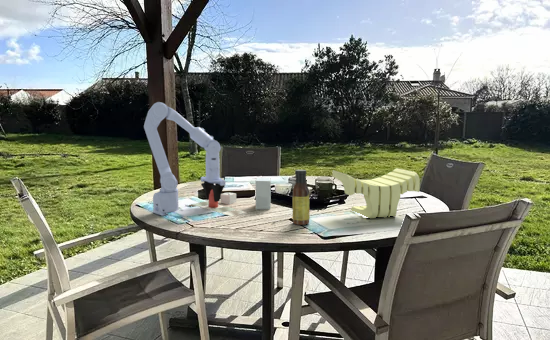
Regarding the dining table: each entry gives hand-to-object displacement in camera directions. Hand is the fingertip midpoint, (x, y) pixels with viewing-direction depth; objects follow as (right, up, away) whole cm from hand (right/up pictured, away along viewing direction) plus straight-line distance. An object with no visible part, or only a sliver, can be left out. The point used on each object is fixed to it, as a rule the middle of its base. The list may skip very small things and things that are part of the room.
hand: (213, 200), depth 156 cm
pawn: (0, -3, 0) cm, 3 cm away
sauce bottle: (+36, -7, -20) cm, 41 cm away
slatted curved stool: (+66, -6, -6) cm, 67 cm away
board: (+3, -4, -2) cm, 5 cm away
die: (+5, -3, +9) cm, 11 cm away
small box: (+21, -4, +1) cm, 22 cm away
